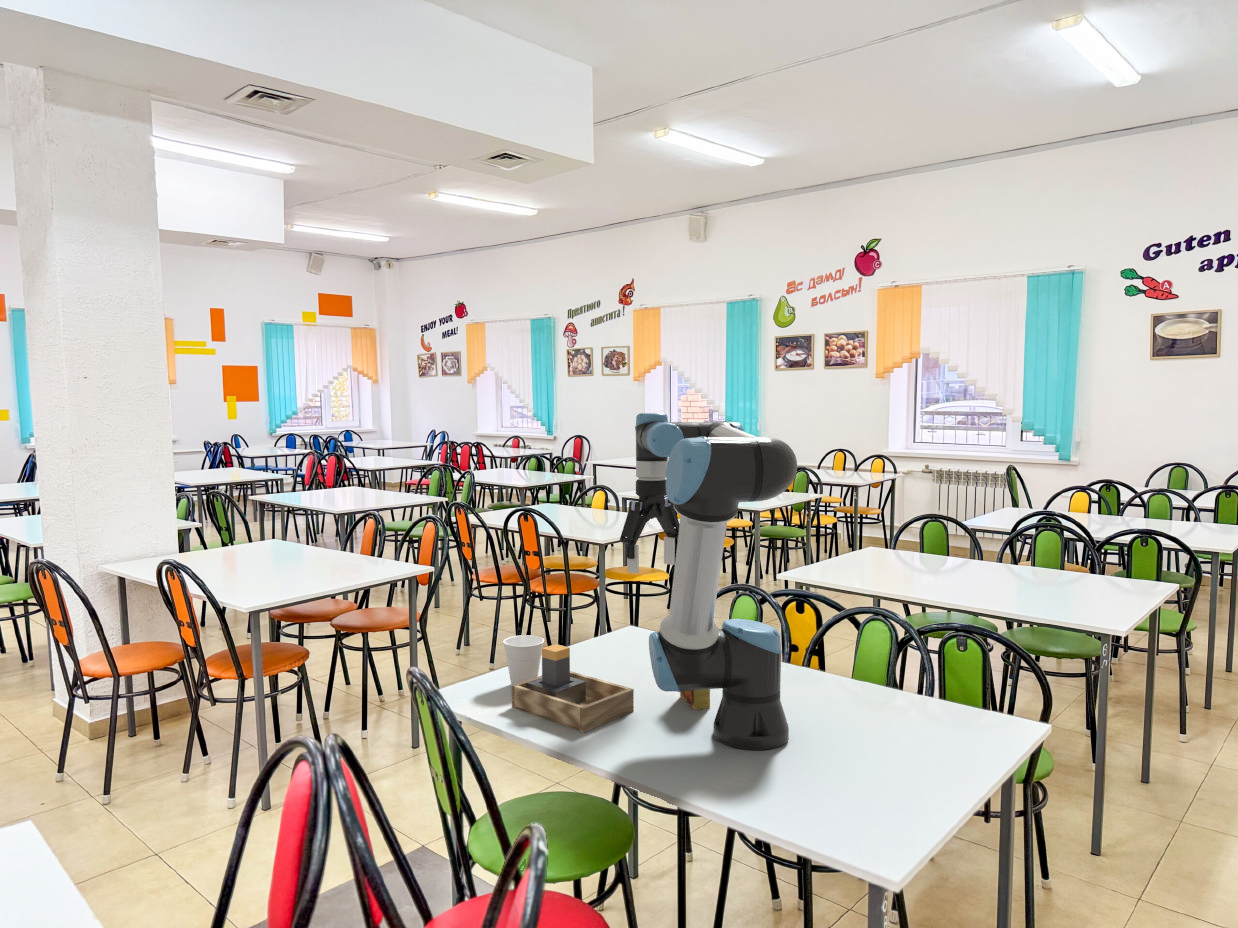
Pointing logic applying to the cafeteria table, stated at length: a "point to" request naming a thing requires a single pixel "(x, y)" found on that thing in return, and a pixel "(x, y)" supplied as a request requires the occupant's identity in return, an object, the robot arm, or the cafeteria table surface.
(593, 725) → the tray
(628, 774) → the cafeteria table surface
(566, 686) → the frame
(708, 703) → the candy box
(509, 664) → the cup
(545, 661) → the connector
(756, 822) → the cafeteria table surface
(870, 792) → the cafeteria table surface
